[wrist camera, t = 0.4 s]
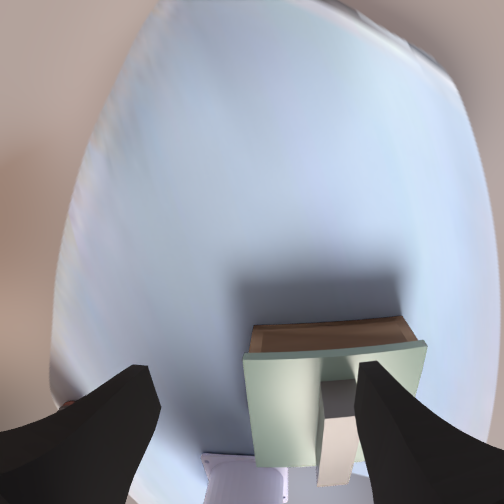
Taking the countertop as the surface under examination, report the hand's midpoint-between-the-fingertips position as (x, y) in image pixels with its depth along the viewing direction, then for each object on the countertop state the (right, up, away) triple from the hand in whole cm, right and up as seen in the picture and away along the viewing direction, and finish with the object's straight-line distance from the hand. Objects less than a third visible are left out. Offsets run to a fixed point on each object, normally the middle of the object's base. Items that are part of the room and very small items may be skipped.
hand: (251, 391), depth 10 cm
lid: (+5, -5, +9) cm, 12 cm away
